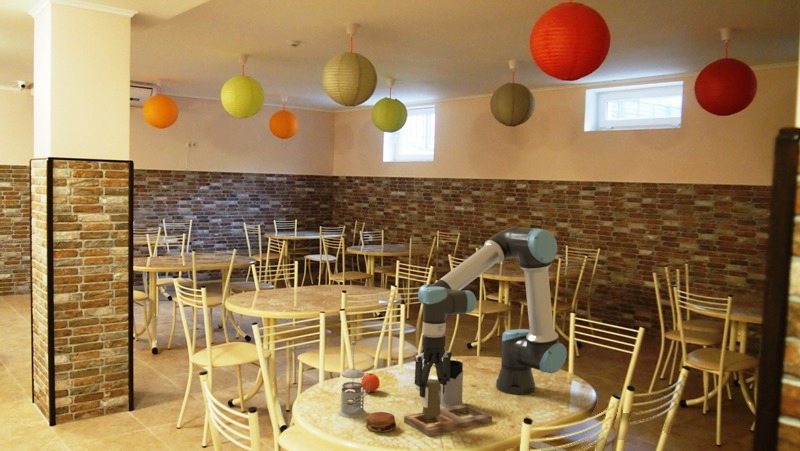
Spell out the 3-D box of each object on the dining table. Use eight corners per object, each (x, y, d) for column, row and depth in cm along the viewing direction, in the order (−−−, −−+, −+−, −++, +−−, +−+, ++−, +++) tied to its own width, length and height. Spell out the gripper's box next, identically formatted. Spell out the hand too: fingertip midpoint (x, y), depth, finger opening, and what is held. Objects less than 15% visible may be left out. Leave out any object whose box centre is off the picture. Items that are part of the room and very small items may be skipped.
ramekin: (409, 387, 251) (410, 376, 251) (427, 383, 257) (427, 372, 256) (424, 393, 244) (424, 382, 244) (441, 389, 250) (442, 378, 249)
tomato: (357, 389, 247) (357, 370, 247) (374, 387, 250) (374, 369, 250) (364, 395, 240) (365, 376, 239) (382, 393, 243) (382, 374, 242)
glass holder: (460, 409, 228) (461, 367, 227) (421, 404, 232) (422, 363, 231) (465, 401, 236) (466, 361, 235) (427, 396, 240) (428, 357, 239)
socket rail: (465, 409, 228) (465, 402, 228) (491, 421, 216) (492, 415, 216) (404, 422, 214) (404, 415, 214) (428, 436, 202) (428, 429, 202)
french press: (332, 411, 222) (333, 339, 221) (360, 405, 229) (361, 335, 228) (347, 420, 215) (349, 346, 213) (376, 413, 222) (378, 341, 220)
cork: (439, 417, 208) (440, 383, 207) (420, 415, 209) (421, 382, 208) (441, 410, 213) (442, 378, 213) (423, 409, 215) (424, 376, 214)
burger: (360, 426, 210) (360, 412, 209) (384, 421, 215) (384, 407, 215) (376, 436, 202) (377, 422, 201) (401, 430, 207) (401, 416, 207)
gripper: (417, 340, 201) (415, 413, 203) (463, 334, 211) (460, 404, 213) (404, 335, 208) (402, 406, 209) (449, 329, 218) (447, 397, 219)
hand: (431, 404), depth 211 cm, fingers closed on cork, 5 cm apart
